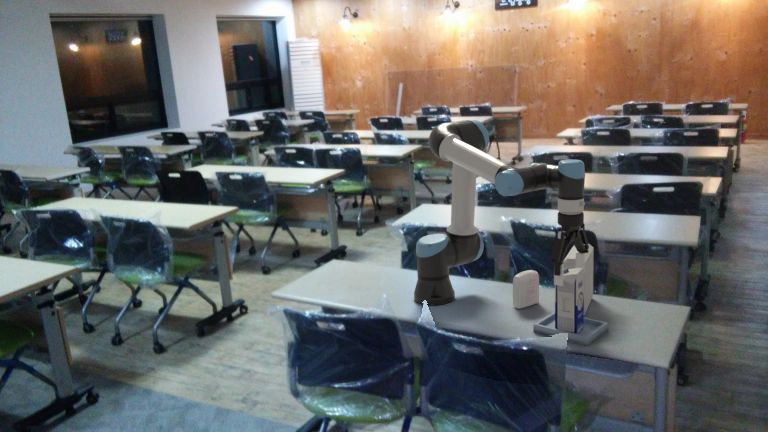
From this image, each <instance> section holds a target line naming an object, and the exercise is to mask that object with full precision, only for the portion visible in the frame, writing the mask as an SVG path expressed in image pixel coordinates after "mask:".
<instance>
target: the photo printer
mask: <svg viewBox="0 0 768 432" xmlns="http://www.w3.org/2000/svg"><path fill="white" fill-rule="evenodd" d="M539 301H540V275H539V273H538V272H537V271H536V270H533V269H529V270H524V271H521V272H519V273H517V274H515V275H514V277H513V279H512V306H513V307H514V308H515V309H524V308H526V307H527V308H528V307H530V306H533V305H536V304H539Z"/></svg>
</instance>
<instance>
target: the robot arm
mask: <svg viewBox="0 0 768 432" xmlns="http://www.w3.org/2000/svg"><path fill="white" fill-rule="evenodd" d="M489 144H490V136H489V132H488V129H487V127H485V125H484V124H483V122H481V121H480V120H477V119H476V120H475V119H464V120H457V121H451V122H442V123H440V124H438V125H436V126H435V127H434V128H433V129H432V130H431V132H430V133H429V136H428V146H429V150H430V151H431V152H432V154H433V155H434V156H436V157H437V158H438V159H440V160H442V161H444V162H448V163H449V162H452V178H451V181H452V182H451V183H452V184H451V206H450V208H451V209H450V213H451V215H450V224H449V225H448V226H447V227H446V234H443V233H434V234H427V235H424V236H421V237H420V238H419V239H418V240H417V242H416V246H415V247H416V248H415V255H416V267H417V268H416V271H417V281H416V284H415V289H414V292H413V300H414V302H416V303H417V302H418V303H417V304H420V303H422V302H423V301H424V300H426V301H427V303H428V304H429V305H428V306H440V305H445V304H449V303H451V302H453V301H454V300H455V298H456V292H455V289H454V287H453V284H452V281H451V278H450V268H451V269H452V268H455V267H458V266H462V265H465V264H466V265H467V264H470V263H472V262H474V261H478V259H479V258H481V256H482V254H483V252H484V248H485V247H484V245H485V244H484V239H483V237H482V235H481V233H480V232H479V229H478V228H477V227H476V226H475V210H476V209H475V208H476V206H475V205H476V187H477V186H476V184H477V176H478V177H480V178H482V179H484V180H486V181H487V182H490V183H491V184H493V185H494V187H495V190H496V191H497V192H498V194H499V195H501V196H503V197H509V196H511V197H514V196H518V195H521V194H525V193H531V192H534V191H539V190H545V189H546V190H553V191H557V211H558V212H557V224H558V225H559V226H560V227H561V229H560V231H559V230H557V231H555V235H554V243H553V247H552V250H551V256H550V259H549V264H550V265H554V266H553V285H554V286H555V285H559V286H563V279H564V265H563V261H564V259H565V258H566V256H567V255H566V254H567V251H568V249H569V247H570V246H571V245H572V243H573V246H574V245H575V247H576V249H577V251H578V252H576V266H575V268H584V273H585V253H588V251H589V250H587V249H589V245H588V244H589V242H588V237H587V233H586V228H585V225H586V224H585V223H584V219H585V217H584V214H585V213H584V209H585V205H586V203H585V179H586V170H585V163H584V161H583V160H581V159H572V158H571V159H570V158H569V159H562V160H560V161H558V164H549V163H544V162H533V163H530V164H529V165H528V166H525V167H521V168H518V167H516V166H513V165H511V164H509V163H507V162H506V161H504V160H501V159H499V158H497V157H495V156H493V155H491V154H489V153H487V152H485V150H486V149H487V148H488V146H489ZM584 244H585V245H584Z"/></svg>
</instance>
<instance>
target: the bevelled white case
mask: <svg viewBox="0 0 768 432" xmlns="http://www.w3.org/2000/svg"><path fill="white" fill-rule="evenodd" d="M584 245H585V244H584ZM588 245H589V249H587V250H589V251H588V253H585V273H584V316H585V315H586V314H587V313H586V312H587V310H588V308H589V306H590V303H591V301H592V299H593V297H594V253H595V252H594V251H595V250H594V249H595V248H594V246H592V245H591V244H590V243H588ZM576 252H578V251H577V249H576V247H575V245H574V244H573V246H572V247H571V249H570V250H569V251H568V253H567V255H565V257H564V260H563V263H562V265H564V268H568V269H574V268H575V266H576Z"/></svg>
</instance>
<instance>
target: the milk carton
mask: <svg viewBox="0 0 768 432" xmlns="http://www.w3.org/2000/svg"><path fill="white" fill-rule="evenodd" d="M554 311H555V329H559V330H563V331H567V332H571V333H575V334H579V333H580V332H581V330H582V329H583V328H584V316H585V315H584V268H574V269H568V268H564V279H563V286H559V285H554Z"/></svg>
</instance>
